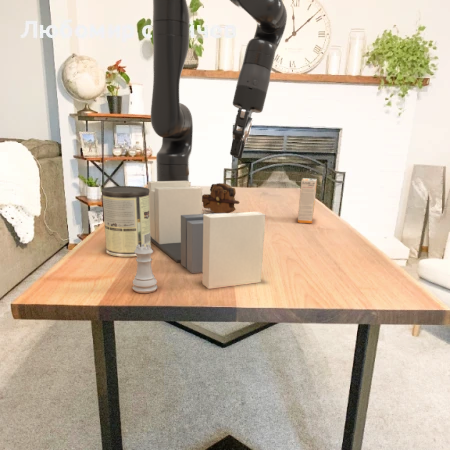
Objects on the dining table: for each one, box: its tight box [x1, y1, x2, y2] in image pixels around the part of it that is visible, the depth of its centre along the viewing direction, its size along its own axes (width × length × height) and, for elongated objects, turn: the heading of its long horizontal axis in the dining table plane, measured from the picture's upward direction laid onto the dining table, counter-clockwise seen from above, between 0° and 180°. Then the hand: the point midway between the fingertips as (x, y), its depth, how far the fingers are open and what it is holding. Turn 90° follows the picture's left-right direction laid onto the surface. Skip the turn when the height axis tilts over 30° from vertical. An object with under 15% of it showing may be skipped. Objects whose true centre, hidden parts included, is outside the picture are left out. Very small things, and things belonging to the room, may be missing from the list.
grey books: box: [180, 212, 223, 274], centre depth 91 cm, size 6×10×10 cm, turn 115°
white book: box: [201, 211, 267, 290], centre depth 81 cm, size 3×11×13 cm, turn 115°
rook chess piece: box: [131, 244, 158, 294], centre depth 77 cm, size 4×4×8 cm
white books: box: [147, 180, 203, 263], centre depth 105 cm, size 25×12×14 cm, turn 25°
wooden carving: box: [202, 182, 240, 213], centre depth 148 cm, size 16×5×10 cm, turn 49°
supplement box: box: [297, 177, 318, 224], centre depth 141 cm, size 8×5×13 cm, turn 168°
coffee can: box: [101, 185, 152, 258], centre depth 100 cm, size 10×10×14 cm
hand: (235, 157), depth 111 cm, fingers open, 8 cm apart
